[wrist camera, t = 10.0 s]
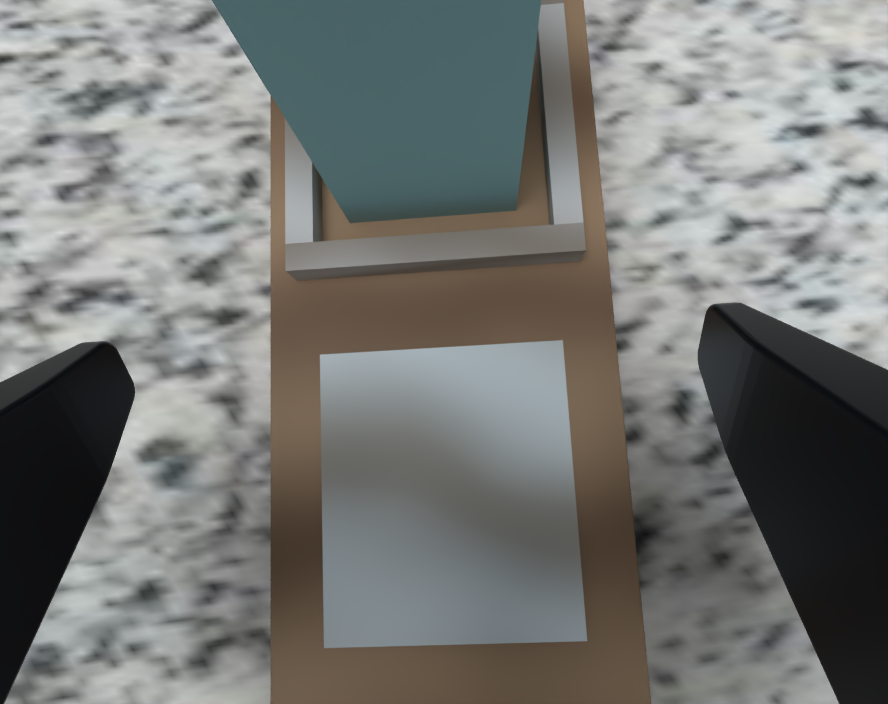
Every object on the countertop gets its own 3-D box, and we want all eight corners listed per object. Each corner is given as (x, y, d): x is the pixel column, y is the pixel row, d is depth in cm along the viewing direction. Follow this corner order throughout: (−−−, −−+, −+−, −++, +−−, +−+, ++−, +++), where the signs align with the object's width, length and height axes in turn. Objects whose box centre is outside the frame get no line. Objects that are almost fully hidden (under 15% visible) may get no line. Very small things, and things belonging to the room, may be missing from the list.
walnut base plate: (629, 683, 17) (664, 741, 14) (300, 689, 18) (256, 747, 15) (571, 46, 21) (588, -33, 17) (295, 71, 22) (258, 0, 18)
